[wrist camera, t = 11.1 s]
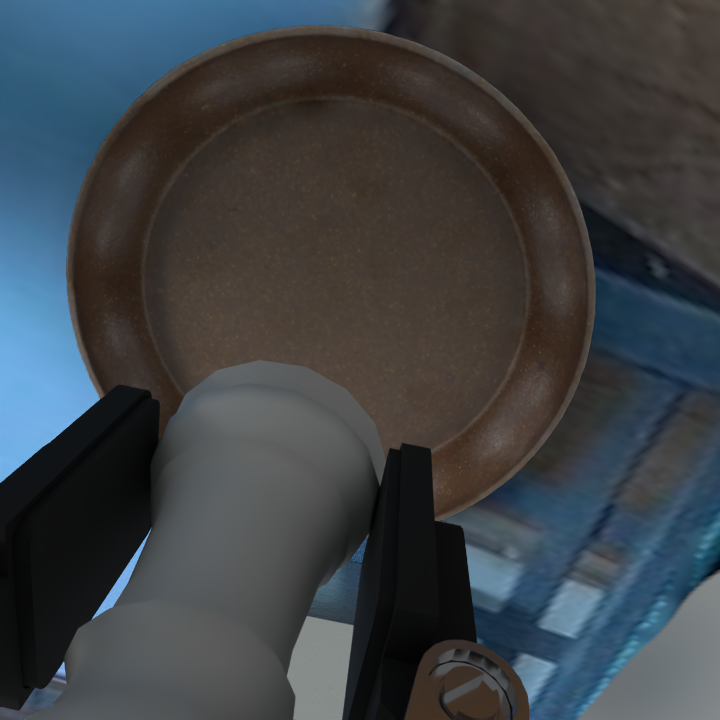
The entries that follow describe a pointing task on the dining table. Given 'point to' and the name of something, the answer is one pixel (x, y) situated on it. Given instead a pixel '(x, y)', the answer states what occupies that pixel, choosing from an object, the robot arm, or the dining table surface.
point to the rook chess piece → (231, 551)
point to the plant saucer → (341, 245)
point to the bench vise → (325, 648)
